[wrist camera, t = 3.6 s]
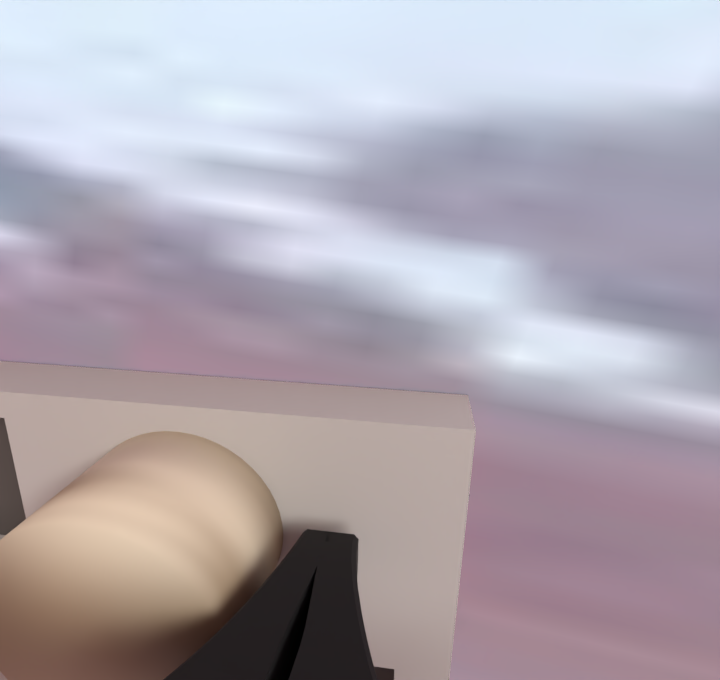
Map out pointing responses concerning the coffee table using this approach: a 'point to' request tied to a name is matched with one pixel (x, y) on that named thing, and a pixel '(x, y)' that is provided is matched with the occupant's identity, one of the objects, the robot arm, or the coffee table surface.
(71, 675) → the beige rounded knob
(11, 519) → the trap board
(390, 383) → the coffee table surface
